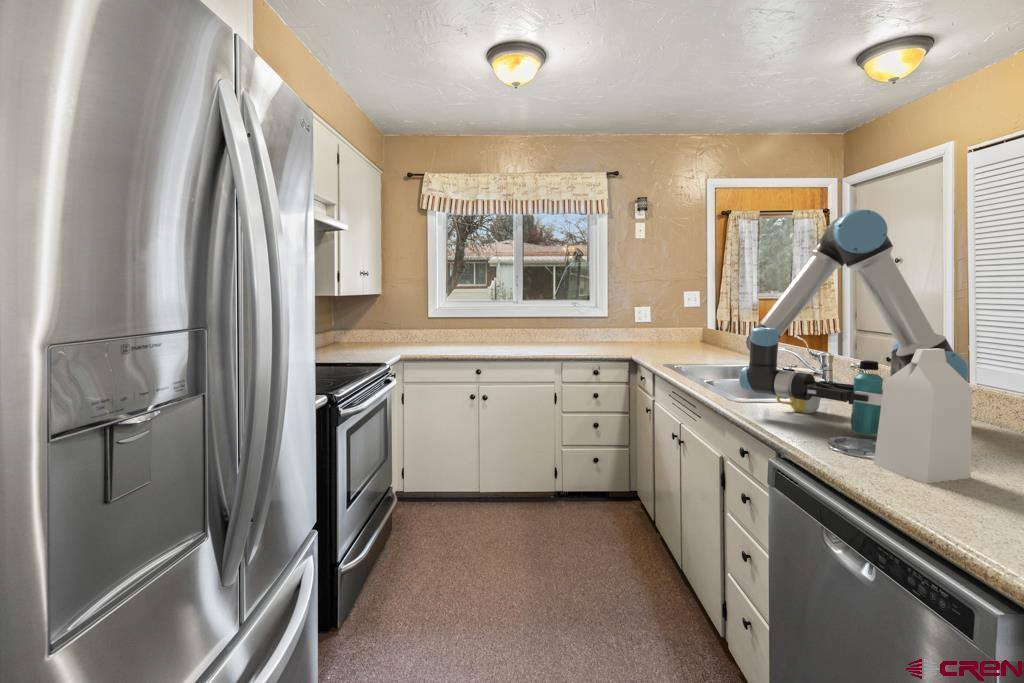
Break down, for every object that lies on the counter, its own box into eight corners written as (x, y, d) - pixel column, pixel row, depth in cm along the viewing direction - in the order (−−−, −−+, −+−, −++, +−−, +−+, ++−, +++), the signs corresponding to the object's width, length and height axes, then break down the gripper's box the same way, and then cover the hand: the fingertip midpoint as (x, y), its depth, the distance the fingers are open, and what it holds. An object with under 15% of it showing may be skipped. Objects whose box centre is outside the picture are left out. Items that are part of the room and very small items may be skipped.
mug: (818, 408, 173) (820, 376, 172) (827, 416, 163) (829, 381, 162) (771, 406, 177) (773, 374, 176) (777, 413, 167) (779, 379, 166)
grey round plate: (856, 439, 138) (856, 434, 138) (911, 455, 125) (912, 450, 125) (813, 444, 134) (813, 439, 134) (866, 461, 120) (866, 455, 120)
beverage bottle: (884, 441, 136) (890, 362, 134) (855, 439, 138) (860, 362, 136) (873, 434, 143) (878, 359, 141) (845, 433, 144) (850, 358, 142)
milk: (926, 483, 107) (937, 353, 104) (873, 465, 118) (882, 347, 115) (970, 477, 110) (982, 351, 108) (914, 460, 121) (923, 345, 119)
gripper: (810, 394, 160) (902, 408, 142) (778, 402, 147) (874, 419, 129) (812, 369, 159) (904, 379, 141) (779, 375, 147) (876, 388, 129)
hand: (889, 398), depth 135 cm, fingers open, 7 cm apart
